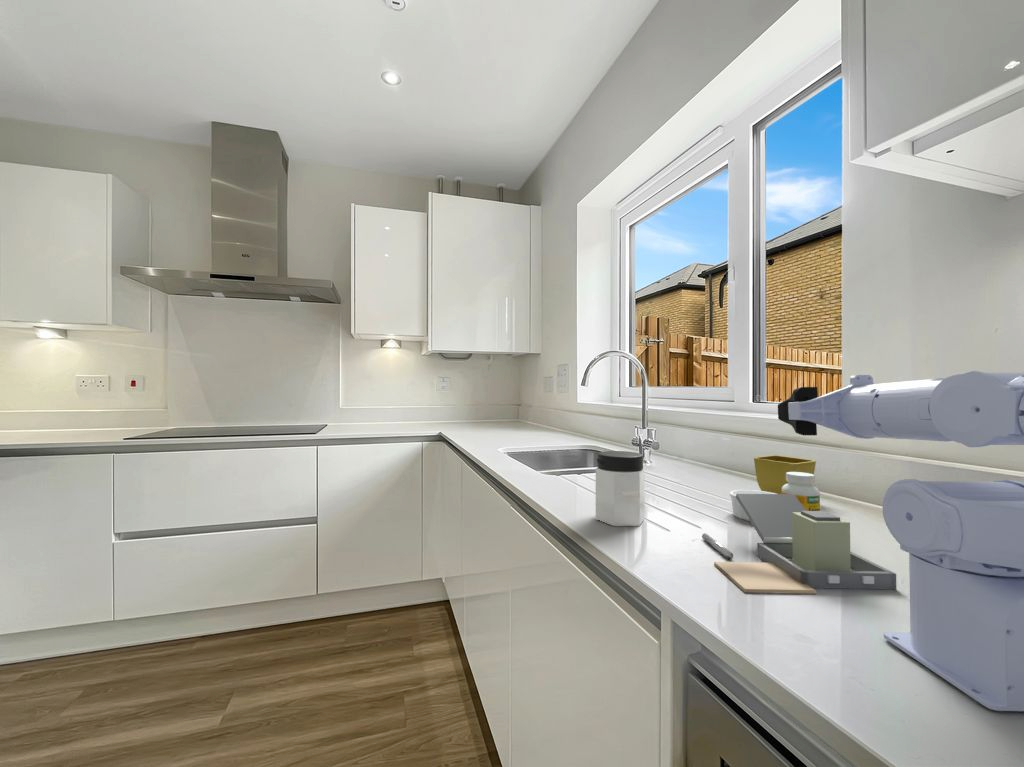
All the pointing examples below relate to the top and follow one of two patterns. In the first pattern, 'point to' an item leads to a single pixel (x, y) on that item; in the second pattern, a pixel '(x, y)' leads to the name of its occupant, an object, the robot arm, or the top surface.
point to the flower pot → (779, 471)
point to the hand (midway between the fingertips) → (810, 411)
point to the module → (820, 541)
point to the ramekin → (736, 505)
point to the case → (862, 578)
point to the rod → (717, 546)
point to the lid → (771, 515)
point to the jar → (620, 488)
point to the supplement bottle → (803, 489)
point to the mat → (762, 578)
